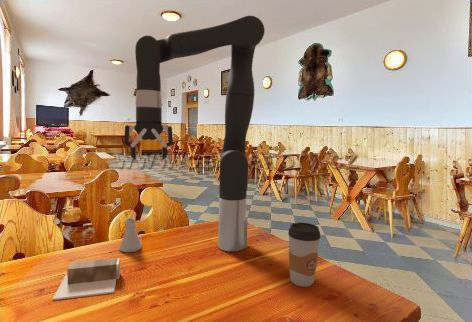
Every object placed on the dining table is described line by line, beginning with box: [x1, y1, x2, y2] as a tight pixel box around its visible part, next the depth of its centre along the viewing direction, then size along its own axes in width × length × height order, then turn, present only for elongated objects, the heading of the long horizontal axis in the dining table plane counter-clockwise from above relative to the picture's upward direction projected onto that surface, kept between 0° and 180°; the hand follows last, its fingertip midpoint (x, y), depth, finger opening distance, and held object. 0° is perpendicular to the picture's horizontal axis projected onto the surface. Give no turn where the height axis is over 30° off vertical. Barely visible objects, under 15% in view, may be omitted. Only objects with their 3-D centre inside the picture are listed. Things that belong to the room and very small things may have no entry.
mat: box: [52, 273, 118, 301], centre depth 77 cm, size 13×16×1 cm
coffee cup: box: [287, 222, 321, 288], centre depth 79 cm, size 8×8×15 cm
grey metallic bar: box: [66, 257, 121, 284], centre depth 78 cm, size 4×4×12 cm
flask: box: [118, 217, 143, 253], centre depth 98 cm, size 7×7×10 cm
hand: (149, 159), depth 92 cm, fingers open, 8 cm apart
